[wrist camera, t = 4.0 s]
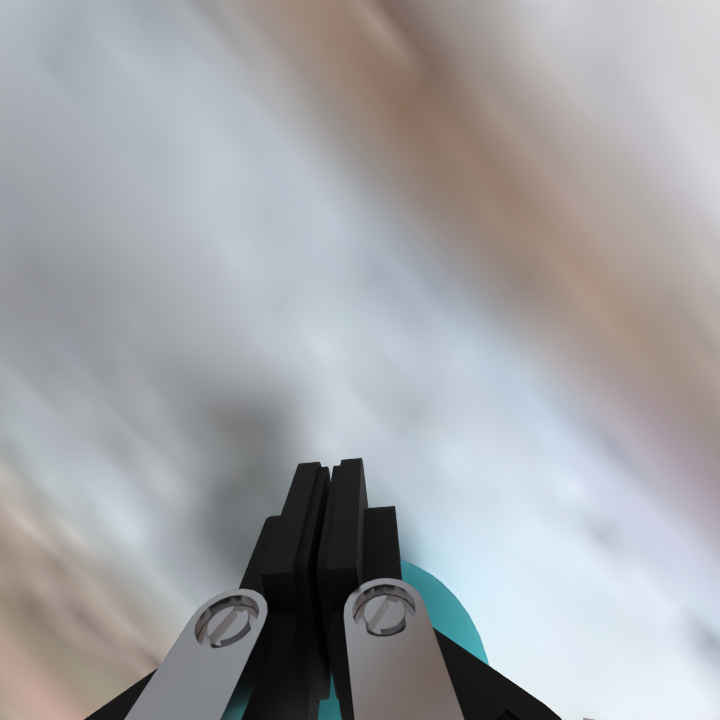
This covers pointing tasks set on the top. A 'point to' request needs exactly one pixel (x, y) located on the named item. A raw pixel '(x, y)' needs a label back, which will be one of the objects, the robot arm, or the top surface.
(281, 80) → the top surface
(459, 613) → the ball
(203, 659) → the robot arm
